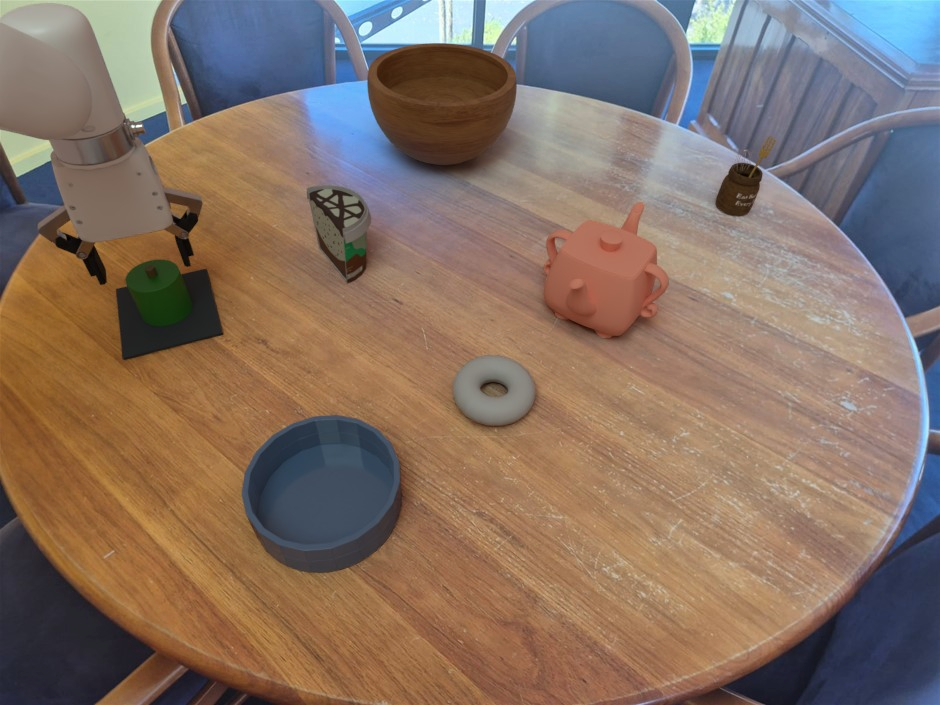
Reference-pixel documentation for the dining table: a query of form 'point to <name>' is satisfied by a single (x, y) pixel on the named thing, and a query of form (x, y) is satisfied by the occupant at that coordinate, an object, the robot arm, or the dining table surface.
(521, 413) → the donut
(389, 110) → the bowl
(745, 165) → the utensil holder
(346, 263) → the food container
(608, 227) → the teapot
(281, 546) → the serving bowl
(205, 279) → the mat
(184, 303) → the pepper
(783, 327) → the dining table surface
